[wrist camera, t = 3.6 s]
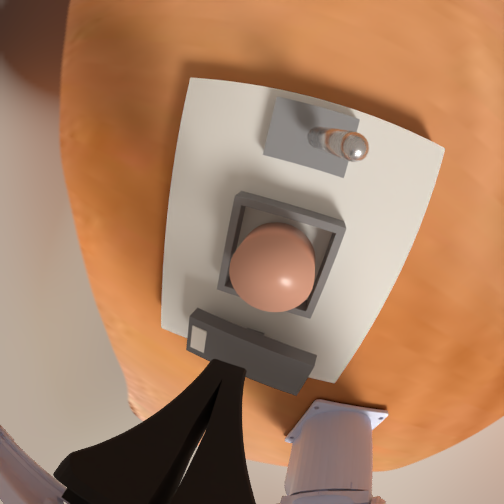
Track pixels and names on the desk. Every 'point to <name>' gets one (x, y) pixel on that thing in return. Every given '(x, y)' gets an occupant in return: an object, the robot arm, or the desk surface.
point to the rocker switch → (249, 352)
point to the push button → (273, 267)
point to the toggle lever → (339, 143)
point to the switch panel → (291, 212)
